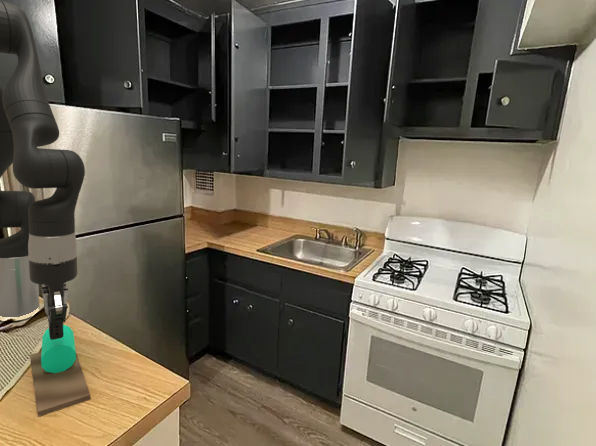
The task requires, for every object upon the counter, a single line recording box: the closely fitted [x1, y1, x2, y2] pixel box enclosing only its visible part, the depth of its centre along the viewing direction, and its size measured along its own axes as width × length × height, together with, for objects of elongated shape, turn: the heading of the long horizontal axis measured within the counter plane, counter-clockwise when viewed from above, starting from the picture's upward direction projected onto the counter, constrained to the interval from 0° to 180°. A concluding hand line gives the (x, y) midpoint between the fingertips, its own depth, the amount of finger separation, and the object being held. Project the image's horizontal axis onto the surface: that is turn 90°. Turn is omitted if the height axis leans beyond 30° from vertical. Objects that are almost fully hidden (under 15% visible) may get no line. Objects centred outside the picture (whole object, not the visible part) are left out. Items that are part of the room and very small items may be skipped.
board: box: [29, 351, 91, 417], centre depth 70 cm, size 20×8×1 cm, turn 40°
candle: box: [40, 324, 77, 373], centre depth 75 cm, size 6×6×12 cm
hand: (56, 337), depth 69 cm, fingers closed
